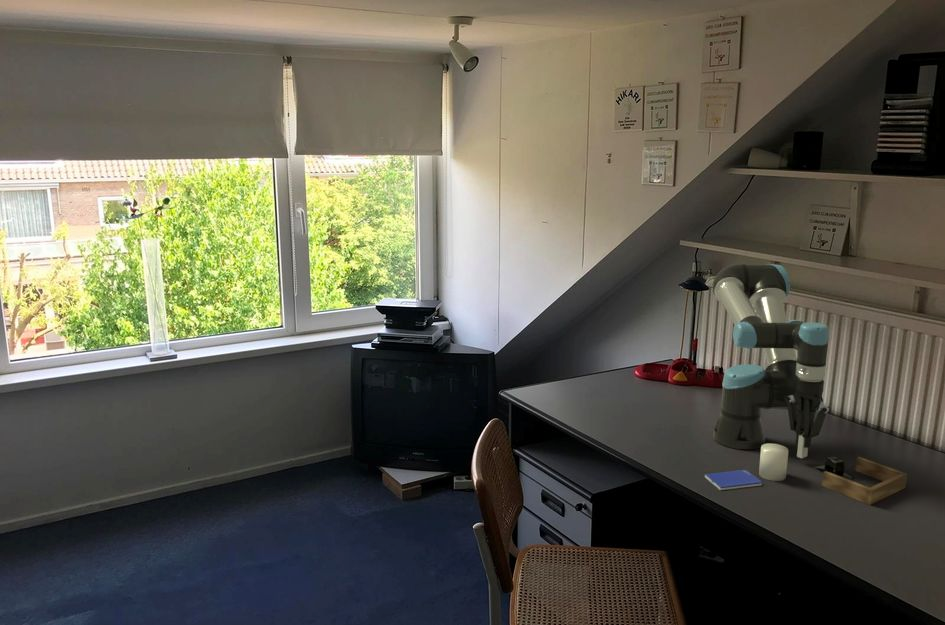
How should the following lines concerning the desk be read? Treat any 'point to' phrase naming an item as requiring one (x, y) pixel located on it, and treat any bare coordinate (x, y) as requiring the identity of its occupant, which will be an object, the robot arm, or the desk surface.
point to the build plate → (834, 467)
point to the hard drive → (733, 479)
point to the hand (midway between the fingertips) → (802, 456)
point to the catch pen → (889, 486)
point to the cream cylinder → (773, 462)
